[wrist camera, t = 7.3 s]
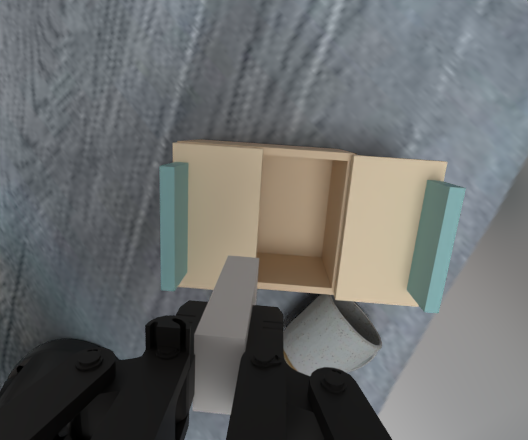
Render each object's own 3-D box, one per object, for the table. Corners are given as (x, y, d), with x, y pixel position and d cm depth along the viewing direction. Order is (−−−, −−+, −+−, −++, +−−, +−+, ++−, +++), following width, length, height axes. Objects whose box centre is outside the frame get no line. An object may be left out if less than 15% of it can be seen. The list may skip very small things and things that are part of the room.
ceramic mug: (274, 323, 39) (274, 369, 32) (323, 274, 37) (335, 311, 30) (340, 375, 41) (355, 430, 33) (391, 331, 39) (418, 379, 31)
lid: (333, 295, 29) (342, 322, 25) (352, 154, 26) (365, 159, 22) (414, 302, 29) (437, 330, 24) (442, 161, 26) (473, 166, 21)
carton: (198, 251, 37) (176, 282, 29) (200, 139, 34) (177, 141, 26) (325, 261, 37) (337, 295, 29) (339, 149, 34) (356, 153, 26)
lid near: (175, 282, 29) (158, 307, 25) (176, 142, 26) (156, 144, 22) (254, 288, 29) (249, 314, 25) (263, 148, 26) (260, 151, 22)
